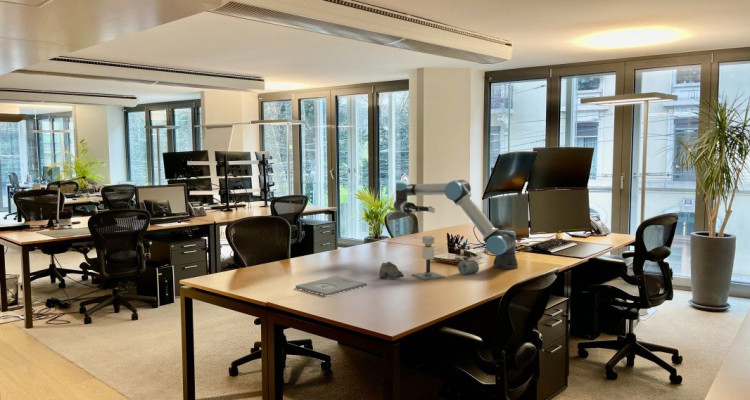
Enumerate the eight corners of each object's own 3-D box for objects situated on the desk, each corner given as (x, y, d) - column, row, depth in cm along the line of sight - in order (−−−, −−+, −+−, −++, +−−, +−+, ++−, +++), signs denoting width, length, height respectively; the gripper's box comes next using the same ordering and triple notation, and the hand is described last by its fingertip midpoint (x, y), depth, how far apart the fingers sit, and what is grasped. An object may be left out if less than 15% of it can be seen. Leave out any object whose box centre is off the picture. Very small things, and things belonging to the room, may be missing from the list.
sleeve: (422, 258, 332) (422, 246, 331) (429, 257, 334) (429, 245, 333) (426, 259, 327) (426, 247, 327) (434, 258, 329) (434, 246, 329)
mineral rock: (405, 279, 324) (405, 262, 323) (390, 282, 318) (390, 264, 317) (391, 275, 335) (391, 258, 334) (376, 278, 329) (376, 261, 328)
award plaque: (366, 286, 311) (366, 282, 311) (326, 297, 289) (326, 293, 289) (336, 279, 328) (336, 275, 327) (295, 289, 306) (295, 285, 305)
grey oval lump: (464, 271, 329) (463, 255, 333) (455, 276, 337) (453, 260, 341) (483, 274, 335) (481, 258, 340) (473, 279, 343) (471, 263, 347)
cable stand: (411, 275, 335) (412, 236, 333) (432, 272, 341) (432, 234, 338) (423, 280, 322) (423, 239, 320) (444, 277, 328) (445, 237, 326)
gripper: (425, 212, 373) (442, 216, 354) (391, 214, 363) (406, 218, 344) (425, 201, 372) (442, 204, 353) (391, 202, 362) (406, 206, 343)
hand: (424, 211), depth 348 cm, fingers open, 13 cm apart
